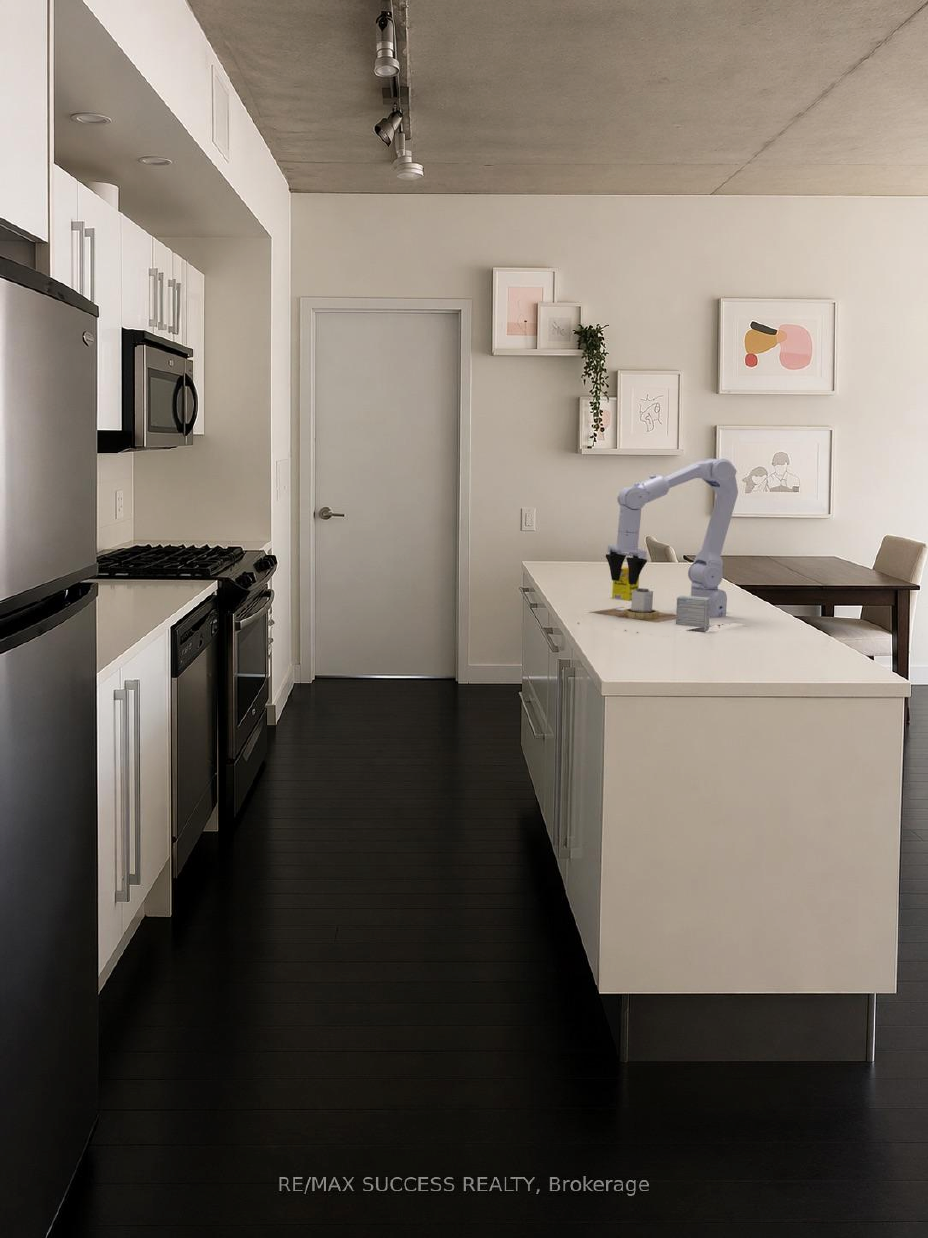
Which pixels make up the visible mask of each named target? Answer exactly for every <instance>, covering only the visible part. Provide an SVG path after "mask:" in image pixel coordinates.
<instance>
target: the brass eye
mask: <svg viewBox="0 0 928 1238" xmlns="http://www.w3.org/2000/svg"><path fill="white" fill-rule="evenodd" d="M659 612H660V610H657V609H653V608H652V613H636V612H631V609H625V610H624V617H627V618H626V619H629V618H632V619H631V620H636V619H658V618H659Z"/></svg>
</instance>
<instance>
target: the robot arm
mask: <svg viewBox="0 0 928 1238" xmlns="http://www.w3.org/2000/svg"><path fill="white" fill-rule="evenodd" d="M736 475H737V469H736V468H735V466H734V465H733V463H732V462H731V461H730V460H728V459H726V458H719V459H718V458H711V457H708V458H704V459H703V460H698V461H695V462H693V463H690V465H688V466H687V465H686V466H685V467H683V468H681V469H679V470H677V471H675V472H673V473H670V474H669V475H667V476H662V475H660V474H657V475H656V474H652V475H650V476H649V478H648V479H646V480H643V481H640V482H638V481H637V482H634V483H633V485H634V486H633V487H632V486H626V487H624V488H622V489H621V491H620V492H619V493H618V495H617V497H616V499H617V502H618V504H619V516H618V527H617V537H616V545H607V554H605V559H606V560H607V563H608V566H609V571H610V577H611V580H612V581H613V580H619V579H620V575H621V568H622V567H623V566H624V565H623V564H624V561H625V560H626V562H627V567H628V570H629V575H628V581H629V584H636V583H637V581H638V578H639V579H640V575H641V572H642V570H643V568H644V567H645V565H646V563H647V562H648V559H647V553H648V552H647V551H646V550H642V549H639V548H638V547H639V539H640V530H641V529H640V527H641V517H642V508H643V507H644V506H645V505H646V504H648V503H651V502H653V501H656V500H657V499H659V498H663V497H664V496H667V494H668V493H669V490H670V489H671V488H673V487H677V486H679V485H681V484H682V485H683V484H684V483H687V482H690V481H692V480H694V479H701V480H702V481H704V482H705V483H706V484H707V485H709V486H710V487H711V489H712V490H713V492H714V493H715V500H714V504H713V507H712V509H711V515H710V518H709V520H708V524H707V529H706V533H705V536H704V540H703V542H702V543H703V544H702V546H701V550H700V552H698V553H697V554H696V556H695V558H694V561H693V562H692V564H691V565H690V566H689V568H688V572H687V576H688V579H689V581H690V582H691V585H690V596H696V597H707V598H710V614H709V618H714V619H715V618H723V617H727V604H728V603H727V602H728V597H727V596H728V595H727V593H726V591H725V590H723V589H719V585H720V584H721V583H722V581H723V578H724V577H723V575H724V574H723V565H724V561H723V558H722V556H721V555H722V551H723V549H724V548H723V547H724V545H725V541H726V537H727V534H728V531H729V526H730V523H731V520H732V516H733V513H734V509H735V505H736V502H737V499H738V498H737V497H738V494H739V490H738V488H739V487H738V484H737V483H738V482H737V479H736V478H737V477H736ZM627 556H628V557H627Z"/></svg>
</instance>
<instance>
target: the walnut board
mask: <svg viewBox="0 0 928 1238" xmlns="http://www.w3.org/2000/svg"><path fill="white" fill-rule="evenodd" d="M618 608H625V606H621V607H614V608H608V609H601V610H594V611H589V613H591V614H597V615H603V616H604V615H605V616H611V617H616V618H617V617H618V618H622V619H623V618H624V619H630V620H633V619H632V618H627V617H624V612H622V611H615V610H614V609H618ZM635 620H637V621H642V622H643V621H645V622H648V623H649V622H650V623H660V622H666V621H671V620H676V613H675V614H674V613H667V612H660V611H659V618H658V619H635Z"/></svg>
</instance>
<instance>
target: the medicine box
mask: <svg viewBox="0 0 928 1238" xmlns="http://www.w3.org/2000/svg"><path fill="white" fill-rule="evenodd" d="M675 608H676V610H675V611H676V613H675V615H676V619H675V625H679V626H680V625H681V626H690V627H696V628H692V629H686V630H685V631H687V632H700V633H701V632H702V633H706V632H708V630H709V629H710V626H709V625H710V617H709V614H710V598H707V597H696V596H691V595H680V596H678V597H676V607H675Z"/></svg>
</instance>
